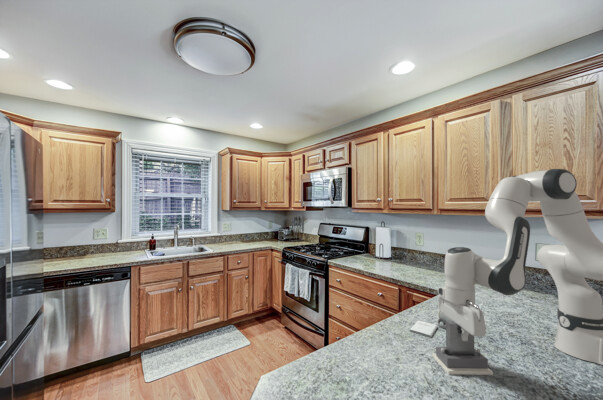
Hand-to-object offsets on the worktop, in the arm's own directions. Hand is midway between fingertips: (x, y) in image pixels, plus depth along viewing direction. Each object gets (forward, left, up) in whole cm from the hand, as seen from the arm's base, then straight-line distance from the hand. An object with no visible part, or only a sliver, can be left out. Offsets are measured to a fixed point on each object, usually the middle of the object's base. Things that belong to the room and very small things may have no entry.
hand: (460, 337), depth 85 cm
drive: (0, 0, -5) cm, 5 cm away
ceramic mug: (-13, -29, -10) cm, 33 cm away
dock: (0, 0, -9) cm, 9 cm away
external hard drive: (0, -26, -10) cm, 28 cm away
